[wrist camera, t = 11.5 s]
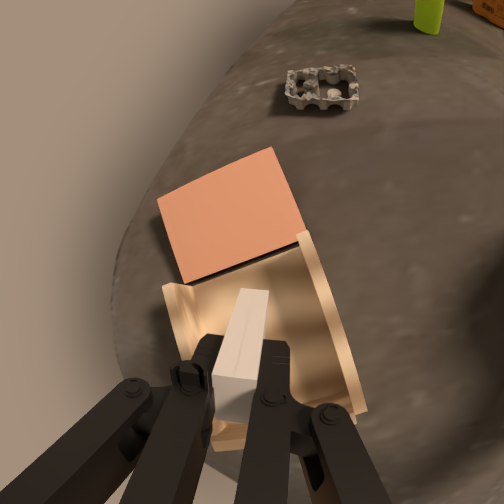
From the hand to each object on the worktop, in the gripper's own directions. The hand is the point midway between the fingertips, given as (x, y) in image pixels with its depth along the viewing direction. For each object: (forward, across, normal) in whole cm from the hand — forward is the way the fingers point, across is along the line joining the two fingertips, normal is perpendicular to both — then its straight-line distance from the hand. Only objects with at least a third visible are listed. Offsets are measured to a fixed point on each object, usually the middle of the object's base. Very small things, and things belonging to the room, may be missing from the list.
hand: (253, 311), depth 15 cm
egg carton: (+30, +7, +19) cm, 35 cm away
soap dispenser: (+37, +31, +43) cm, 65 cm away
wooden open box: (+13, +1, -12) cm, 18 cm away
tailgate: (+17, -3, -4) cm, 18 cm away
